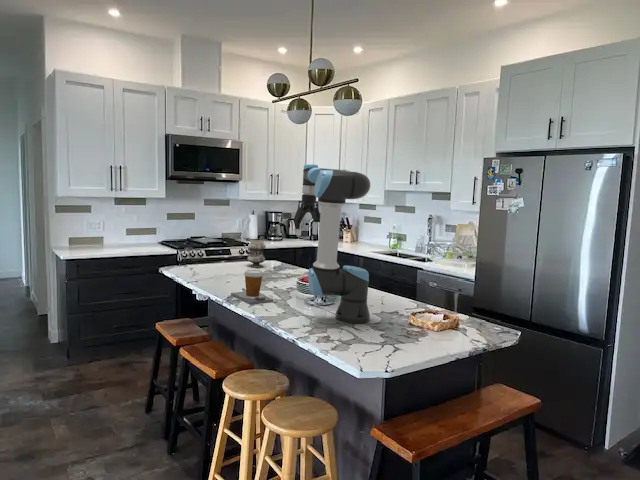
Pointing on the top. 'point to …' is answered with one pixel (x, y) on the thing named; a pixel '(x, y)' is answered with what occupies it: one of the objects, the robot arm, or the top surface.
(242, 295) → the mug warmer
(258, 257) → the grey stone vase
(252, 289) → the disposable coffee cup
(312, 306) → the top surface
